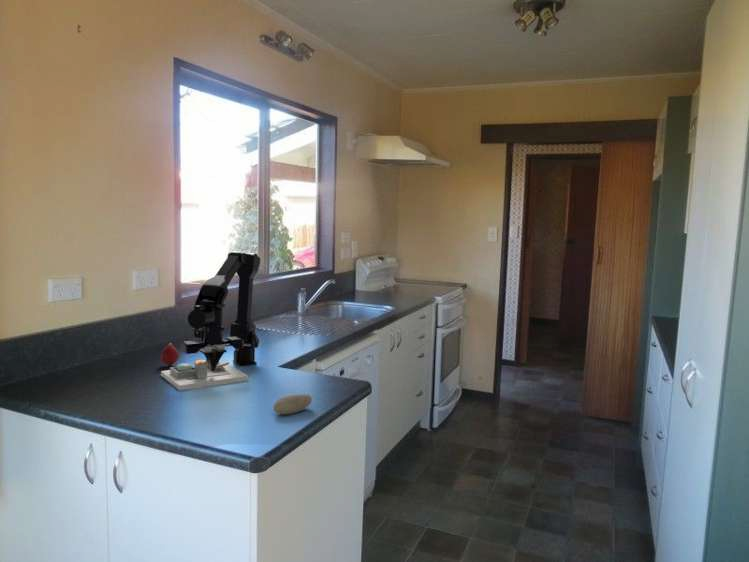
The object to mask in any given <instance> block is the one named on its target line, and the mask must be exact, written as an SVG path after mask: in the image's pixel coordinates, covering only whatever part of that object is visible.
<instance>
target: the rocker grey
mask: <svg viewBox="0 0 749 562" xmlns="http://www.w3.org/2000/svg"><path fill="white" fill-rule="evenodd" d="M226 365H230V362H229V361H227V360H225V359H223V360H219V362H218V364H217V366H216V368H215V369H217V368H220V367H223V366H226Z"/></svg>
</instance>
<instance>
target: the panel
mask: <svg viewBox="0 0 749 562" xmlns="http://www.w3.org/2000/svg"><path fill="white" fill-rule="evenodd" d="M169 367H170V368H169V369H168V370H167V369H166V370H161V371H160V376H161V377H162V378H164V380H166V381H167V382H168V383H170V384H171V385H172V386H173V387H175V389H177V390H178V391H185V390H191V389H198V388H199V389H200V388H205V387H212V386H219V385H227V384H234V383H240V382H241V383H242V382H247V381H248V382H249V376H248V375H247V374H245V373H244V372H242V371H240V370H238V369H237V368H235V367H234V366H232V365H230V364H229V365H226V366H223V367H220V368H217V369H215V370H214V372H211V371H210V368H209V367H207V378H201V379H197V378H196V377H194V365H192V370H189V371H182V372H179V371H177V366H169Z"/></svg>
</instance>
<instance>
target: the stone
mask: <svg viewBox="0 0 749 562" xmlns="http://www.w3.org/2000/svg"><path fill="white" fill-rule="evenodd" d="M312 401H313V399H312V396H311V395H309V394H306V393H301V394H292V395H287V396H283V397H281V398H280V397H279V398H278V399H277V400H276V402H274V404H273V411H274V412H275V413H276V414H278V415H291V414H295V413H298V412H301V411H303V410H305V409H306V408H307V407H309V406H310V405H311V403H312Z"/></svg>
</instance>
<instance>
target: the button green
mask: <svg viewBox="0 0 749 562" xmlns="http://www.w3.org/2000/svg"><path fill="white" fill-rule="evenodd" d="M192 366H193V365H192V364H191V363H179V364H177V365H176V367H177V371H179V372H182V371H189V370H192Z"/></svg>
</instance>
